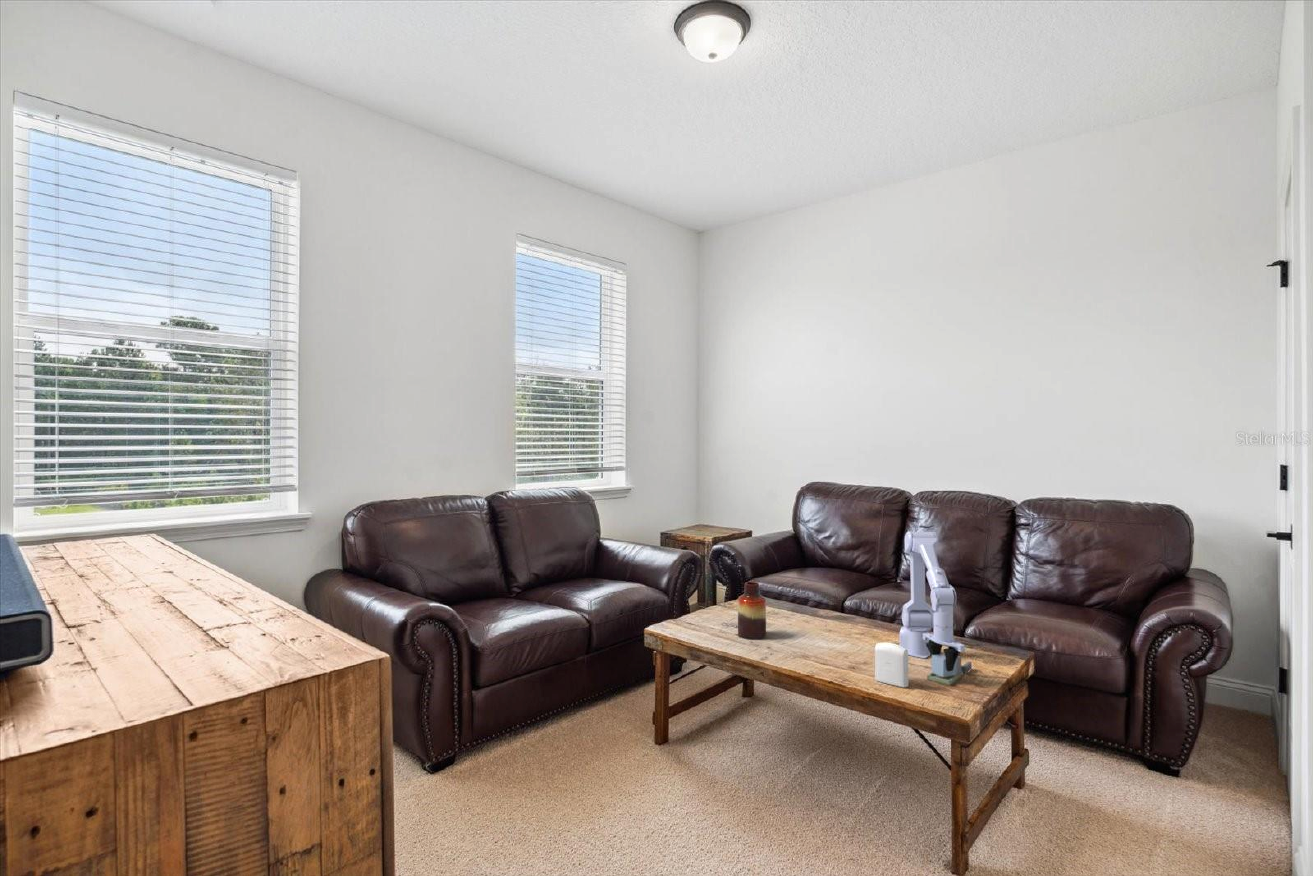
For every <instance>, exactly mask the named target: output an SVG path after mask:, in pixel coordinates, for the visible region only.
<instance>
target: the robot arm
mask: <svg viewBox="0 0 1313 876" xmlns="http://www.w3.org/2000/svg"><path fill="white" fill-rule="evenodd" d="M938 546H939V537H938V534H937V533H936V532H935V531H911V530H910V531H907V532H906V533H905V535H904V552H905V554H908V555H909V560H910V561H909V566H910V572H909V573H910V600H909V601H908V602H906V603H904V604H903V605H902V612H901V621H902V626H901V628H900V631H899V634H898V635H899V639H898V640H899V644H898V645H899V646H902V647H904V648H905V649H907V651H908V656H911V657H917V658H919V659H920V658H921V659H927V658H929V657H931V658H932V655H936V654H942V649H943V653H945V657H946V668H947V671H953V669H954V665H955V662H956V659H957V657H958V656H959V655H960V653H964V652H966V645H965V644H963V643H961V642H959V641H957V640H955V638H954V606H956V604H957V593H956V589H955V588H954V587H953V586H952V585H951V584H949V581H948V578H947V575H946V572H945V570H944V569H943V568H941V567H940V564H939V562H938V561H939V559H938V557H937V550H938ZM926 568H927V571H926ZM926 578H927V582H928V585H929V587H930V590H931V591H930V603H931V605H930V604H929V603H928V602H926ZM932 629H933V633H930V632H931V630H932ZM943 646H944V647H946V648H943Z"/></svg>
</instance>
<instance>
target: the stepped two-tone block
mask: <svg viewBox="0 0 1313 876" xmlns="http://www.w3.org/2000/svg"><path fill="white" fill-rule="evenodd" d="M961 665H962V656H959V655H958V657H957V659H956V662H955V665H954V669H953V671H947V668H946V657H945V653H944V652H943V653H941V654H936V655H932V657H931V670H930V671H931V672H930V673H934V674H937V675H939V676H942V677H947V676H952V675H956V674H957V673H961Z"/></svg>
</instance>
